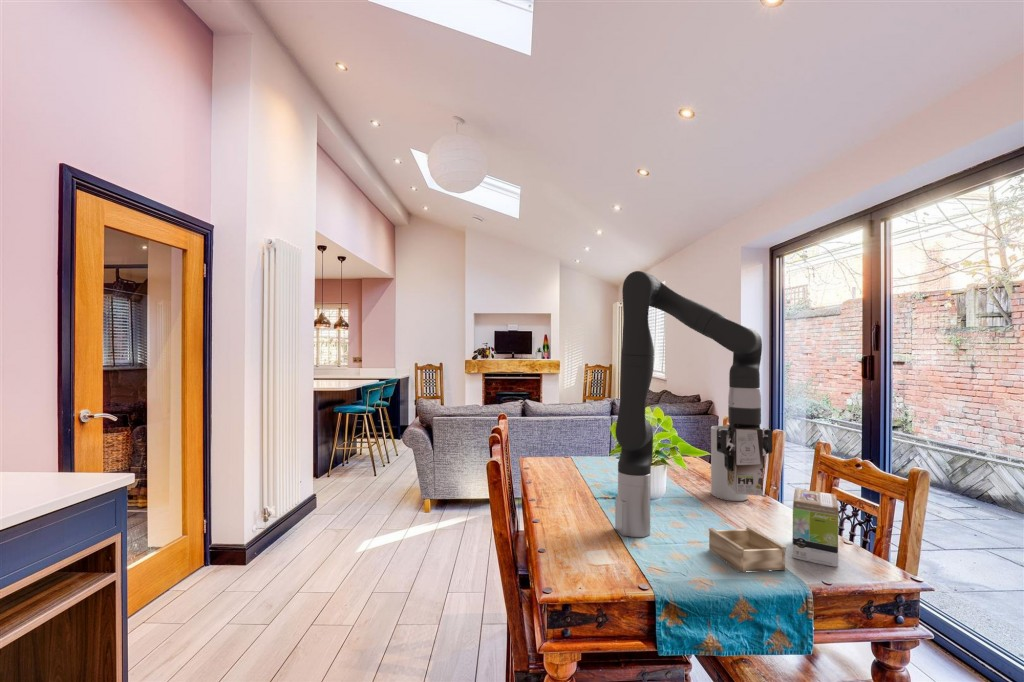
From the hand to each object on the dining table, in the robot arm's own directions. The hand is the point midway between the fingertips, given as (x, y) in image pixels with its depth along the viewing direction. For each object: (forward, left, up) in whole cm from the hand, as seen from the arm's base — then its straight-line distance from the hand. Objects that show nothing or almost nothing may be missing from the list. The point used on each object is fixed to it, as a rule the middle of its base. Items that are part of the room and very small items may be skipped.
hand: (744, 470), depth 121 cm
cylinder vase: (+28, +52, -23) cm, 63 cm away
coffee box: (0, 0, -5) cm, 5 cm away
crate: (0, 0, -22) cm, 22 cm away
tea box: (+21, +2, -23) cm, 31 cm away
